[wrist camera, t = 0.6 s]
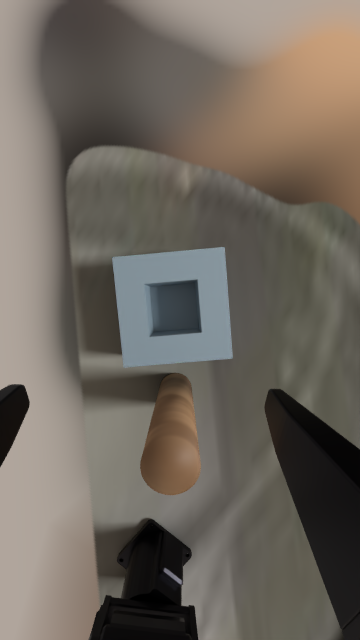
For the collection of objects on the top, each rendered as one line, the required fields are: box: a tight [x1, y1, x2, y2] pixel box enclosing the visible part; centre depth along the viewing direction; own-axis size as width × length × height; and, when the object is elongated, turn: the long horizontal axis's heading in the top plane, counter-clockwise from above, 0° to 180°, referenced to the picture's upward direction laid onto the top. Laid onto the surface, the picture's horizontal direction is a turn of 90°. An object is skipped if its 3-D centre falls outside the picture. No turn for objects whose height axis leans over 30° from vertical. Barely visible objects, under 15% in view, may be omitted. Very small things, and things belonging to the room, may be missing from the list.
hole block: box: [112, 247, 233, 367], centre depth 24 cm, size 10×10×5 cm
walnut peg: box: [140, 373, 201, 495], centre depth 21 cm, size 4×4×13 cm
